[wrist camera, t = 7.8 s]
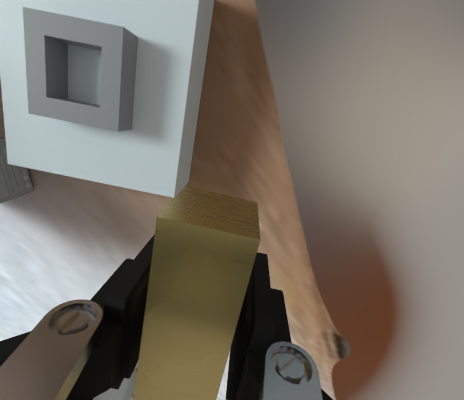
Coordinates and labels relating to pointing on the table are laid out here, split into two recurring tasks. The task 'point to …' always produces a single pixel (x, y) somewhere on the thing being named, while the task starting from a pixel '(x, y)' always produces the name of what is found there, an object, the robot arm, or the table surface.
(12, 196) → the skincare box
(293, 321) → the table surface
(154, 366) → the t key
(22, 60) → the box
